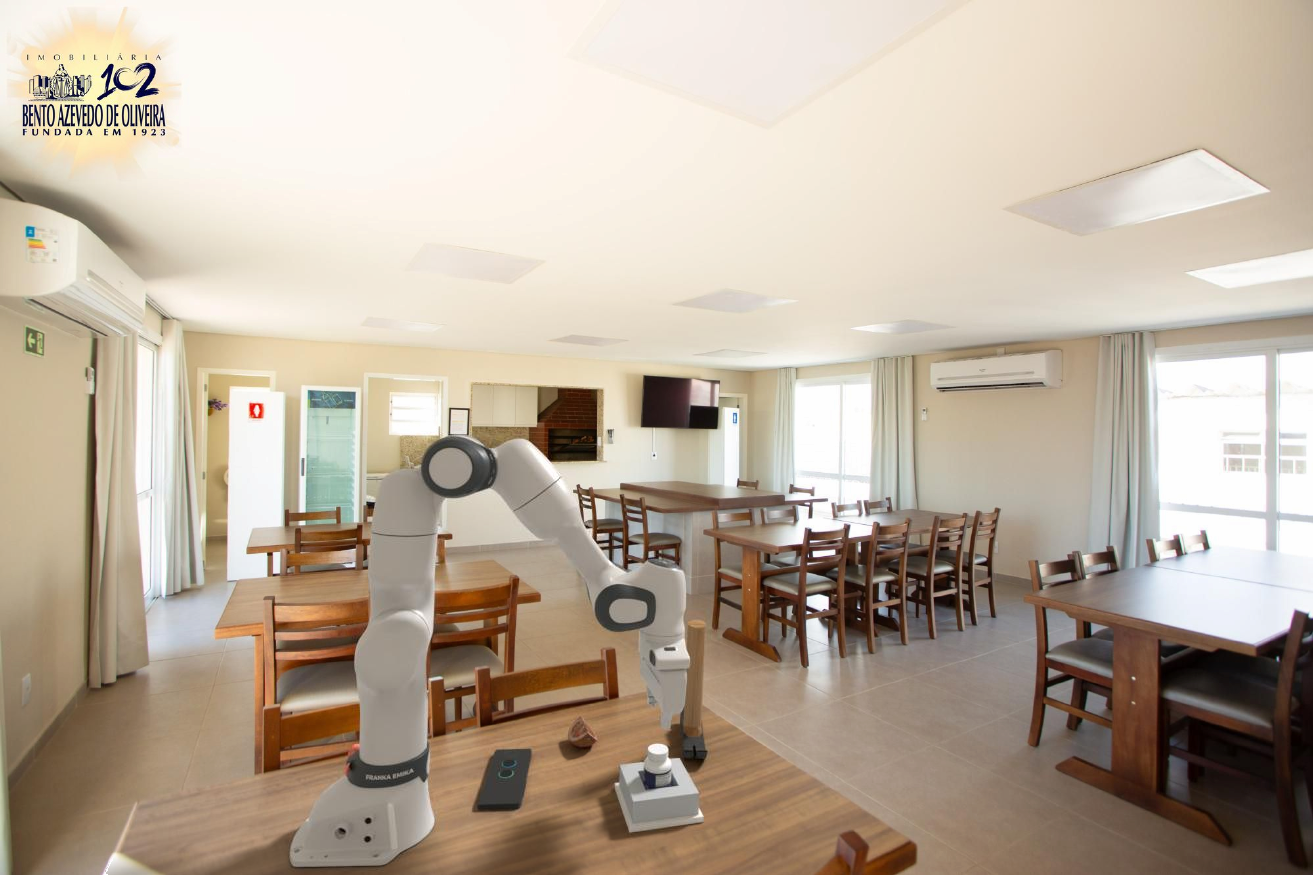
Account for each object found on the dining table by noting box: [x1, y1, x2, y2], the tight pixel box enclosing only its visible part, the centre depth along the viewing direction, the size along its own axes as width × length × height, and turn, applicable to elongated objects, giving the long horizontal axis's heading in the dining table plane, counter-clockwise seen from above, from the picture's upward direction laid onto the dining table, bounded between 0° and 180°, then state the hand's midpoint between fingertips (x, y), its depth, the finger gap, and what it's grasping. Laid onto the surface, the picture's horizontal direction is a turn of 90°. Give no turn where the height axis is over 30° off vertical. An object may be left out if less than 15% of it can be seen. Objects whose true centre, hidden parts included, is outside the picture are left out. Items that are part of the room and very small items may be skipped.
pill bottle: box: [643, 743, 672, 790], centre depth 116 cm, size 5×5×10 cm
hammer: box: [679, 619, 708, 760], centre depth 137 cm, size 20×5×30 cm, turn 1°
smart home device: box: [477, 748, 533, 811], centre depth 123 cm, size 8×2×20 cm
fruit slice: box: [567, 716, 598, 748], centre depth 137 cm, size 8×7×5 cm
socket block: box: [614, 757, 705, 834], centre depth 116 cm, size 14×14×5 cm
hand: (658, 716), depth 116 cm, fingers open, 8 cm apart
